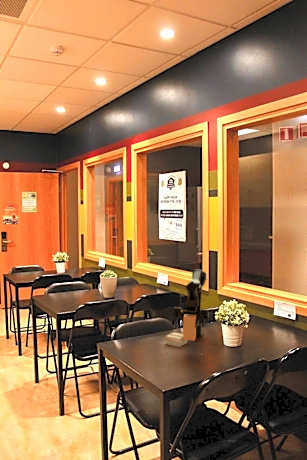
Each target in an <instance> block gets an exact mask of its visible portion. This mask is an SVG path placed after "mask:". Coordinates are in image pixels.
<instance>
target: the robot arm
mask: <svg viewBox="0 0 307 460" xmlns="http://www.w3.org/2000/svg"><path fill="white" fill-rule="evenodd" d="M191 275H192V276H191V278H192V279H190V280H189V281H188V283H187V284H186V286H185V290H186V295H187V300H185V310H184V309H182V307H178V306H177V307H176V306H175V307H174V308H173V310H172V312H173V316H174V317H175V318H179V319H180V320H181V322H182V323H181V324H183V320H184V316H185V315H196V323H195V328H196V338H200V337H203V336H204V333H202V328H203V327H205V326H206V325H205V324H206V321H205V320H208V319H209V317H210V316H209V310H208V309H204V308H202V298H203V297H202V295H203V287H204V286H205V284H206V281H207V272H205V271H203V270H202V269H193V271H192V274H191Z"/></svg>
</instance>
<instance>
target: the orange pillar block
mask: <svg viewBox="0 0 307 460" xmlns="http://www.w3.org/2000/svg"><path fill="white" fill-rule="evenodd" d="M195 323H196V315H187V314H184V320H183V323H182V327H183V328H182V329H183V330H182V334H183V340H187V341H196V339H197V337H196V328H195Z"/></svg>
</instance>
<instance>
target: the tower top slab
mask: <svg viewBox="0 0 307 460" xmlns="http://www.w3.org/2000/svg"><path fill="white" fill-rule="evenodd" d="M166 341H171V342H176V343H181V342H183V341H185V340H183V333H179V332H172V333H169V334H168V335H166V336H165V342H166Z"/></svg>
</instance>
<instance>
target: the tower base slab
mask: <svg viewBox="0 0 307 460" xmlns="http://www.w3.org/2000/svg"><path fill="white" fill-rule="evenodd" d="M186 344H188V340H185V341H183V342H181V343H176V342H171V341H166V340H165V345H170V346H173V347H178V348H180V347H182V346H184V345H186Z"/></svg>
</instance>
